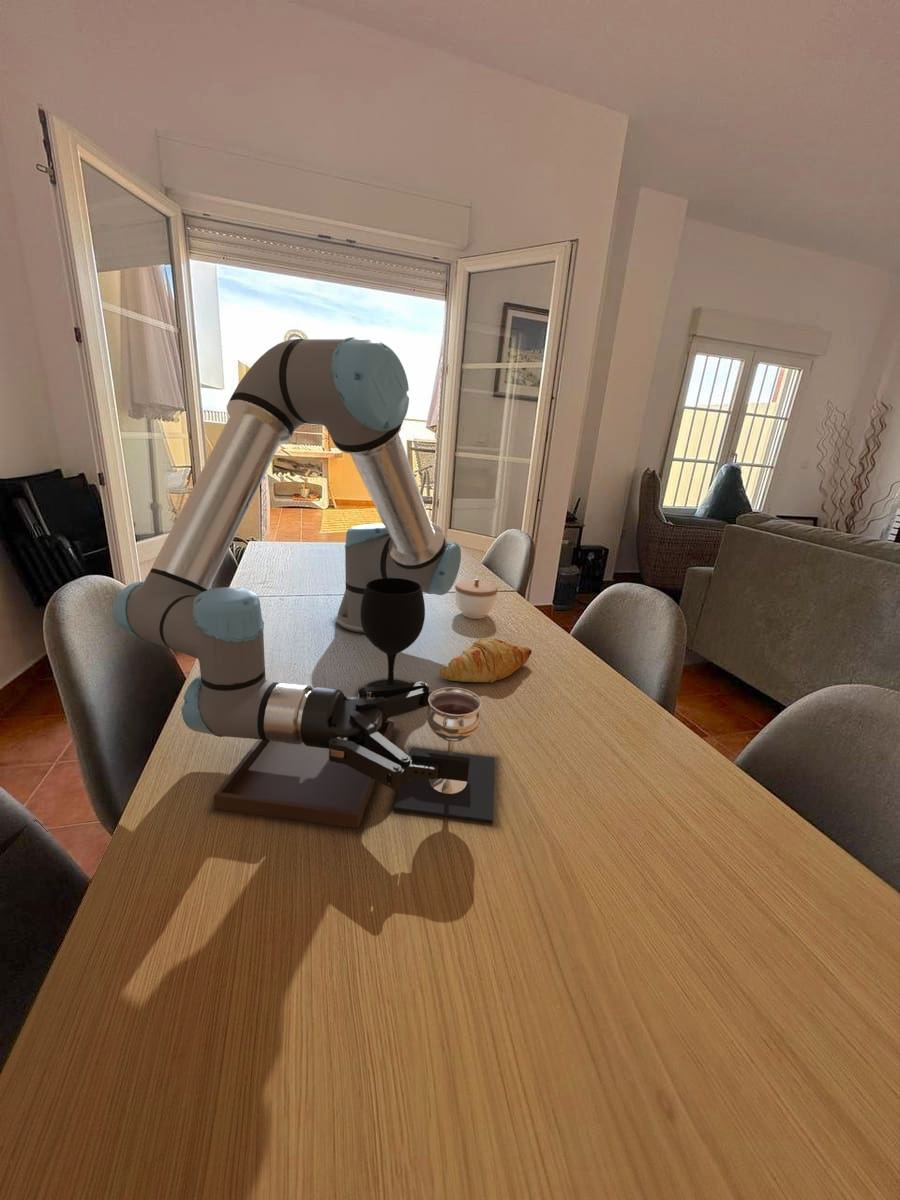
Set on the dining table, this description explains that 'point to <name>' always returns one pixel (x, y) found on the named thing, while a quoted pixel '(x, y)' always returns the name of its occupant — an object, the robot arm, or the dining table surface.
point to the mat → (463, 804)
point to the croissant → (486, 662)
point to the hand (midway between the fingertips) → (472, 734)
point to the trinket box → (475, 597)
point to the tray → (297, 784)
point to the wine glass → (392, 618)
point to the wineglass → (452, 724)
